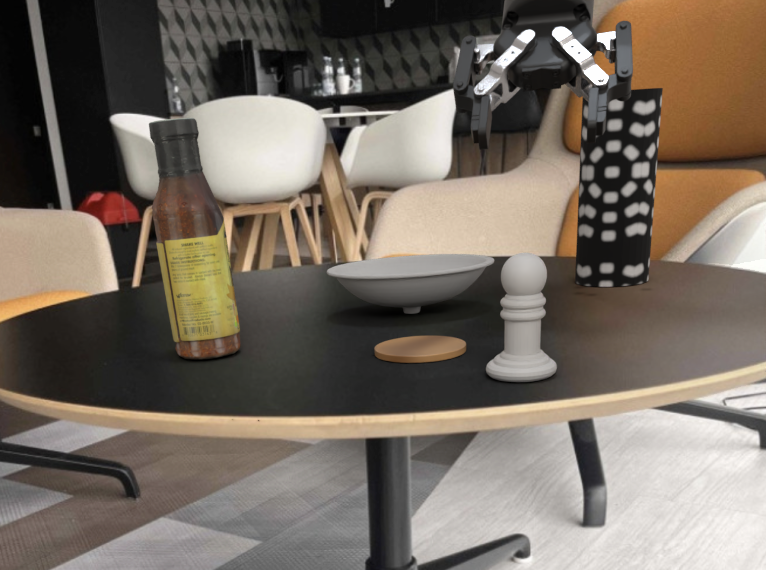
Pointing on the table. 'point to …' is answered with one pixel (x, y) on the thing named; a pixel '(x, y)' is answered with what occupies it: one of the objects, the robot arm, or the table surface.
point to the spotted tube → (618, 192)
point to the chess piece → (522, 322)
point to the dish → (411, 278)
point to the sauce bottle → (192, 247)
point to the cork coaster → (420, 349)
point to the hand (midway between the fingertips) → (536, 138)
